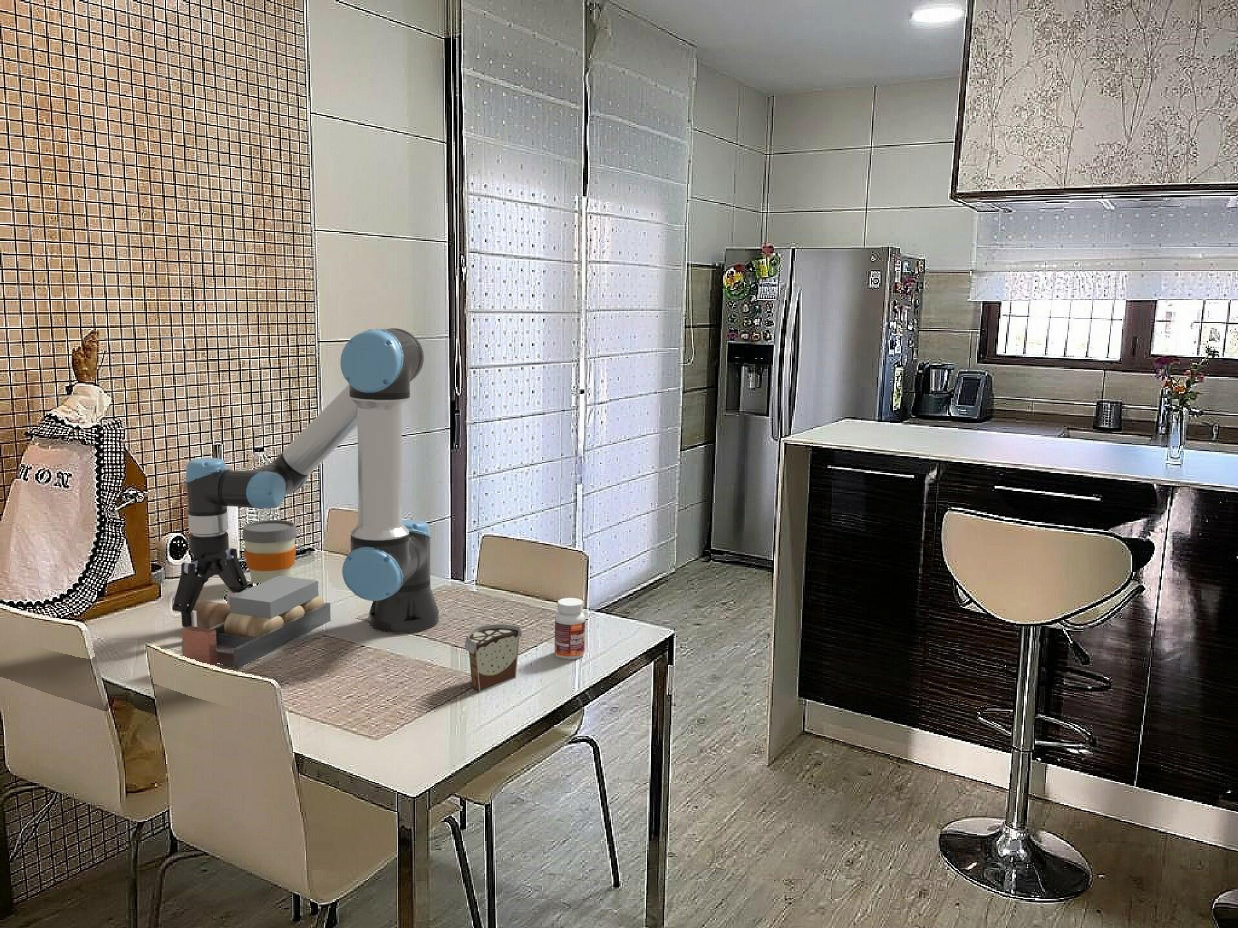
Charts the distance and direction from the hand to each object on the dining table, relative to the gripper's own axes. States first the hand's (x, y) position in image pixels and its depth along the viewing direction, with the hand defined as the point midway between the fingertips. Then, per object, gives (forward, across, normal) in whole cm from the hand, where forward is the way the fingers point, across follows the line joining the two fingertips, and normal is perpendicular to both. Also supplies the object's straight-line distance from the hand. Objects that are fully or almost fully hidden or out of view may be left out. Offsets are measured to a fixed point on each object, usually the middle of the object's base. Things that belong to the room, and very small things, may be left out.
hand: (213, 630), depth 198 cm
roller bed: (0, +2, +12) cm, 12 cm away
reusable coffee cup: (0, -32, -10) cm, 33 cm away
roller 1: (0, 0, 0) cm, 0 cm away
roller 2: (0, +2, +12) cm, 12 cm away
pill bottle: (0, -15, +75) cm, 77 cm away
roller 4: (0, -12, +12) cm, 17 cm away
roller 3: (0, -5, +12) cm, 13 cm away
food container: (0, +3, +65) cm, 65 cm away
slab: (-6, -5, +12) cm, 14 cm away
